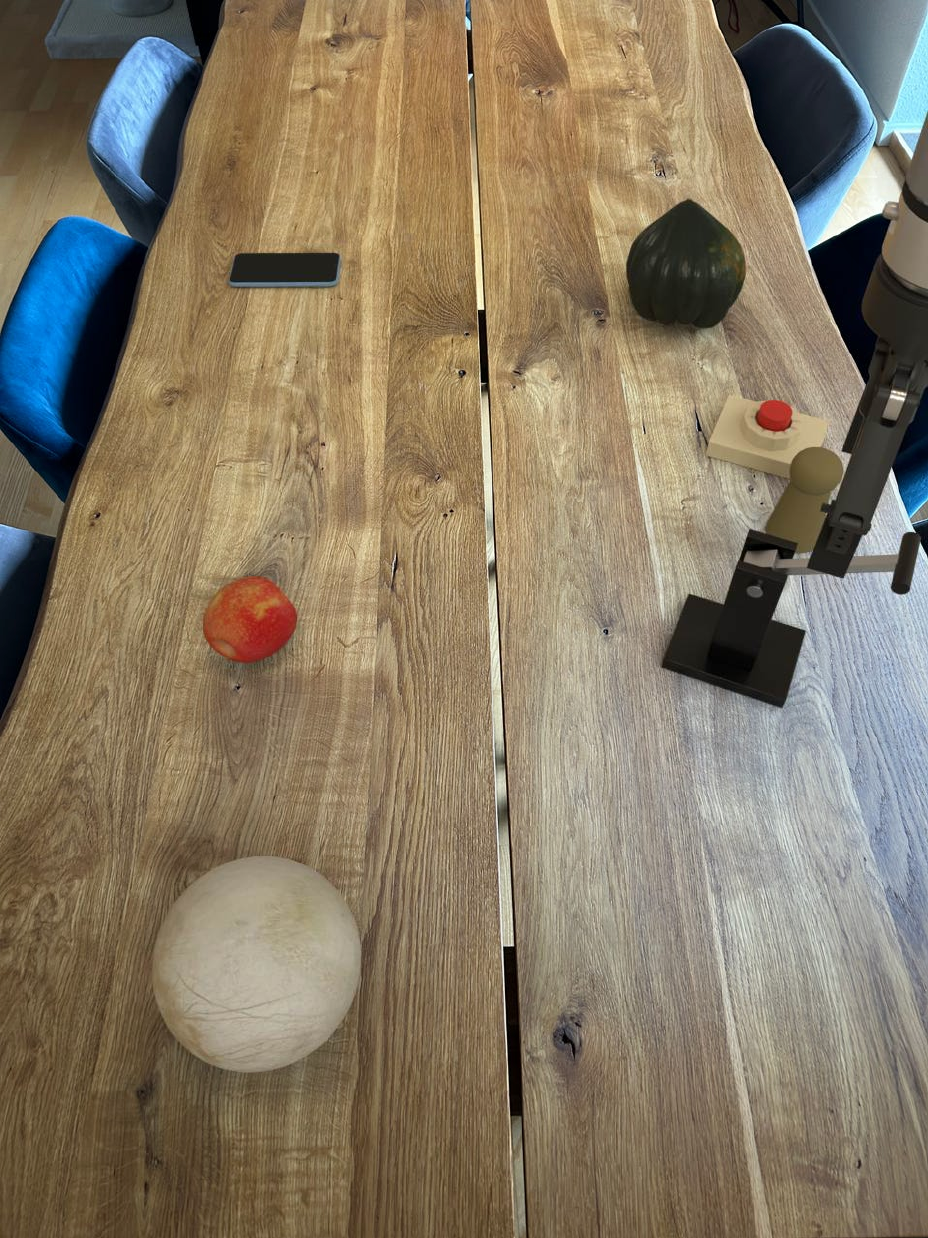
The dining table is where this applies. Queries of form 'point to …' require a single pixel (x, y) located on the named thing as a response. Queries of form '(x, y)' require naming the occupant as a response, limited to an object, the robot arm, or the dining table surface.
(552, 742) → the dining table surface
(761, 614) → the bracket
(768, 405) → the button
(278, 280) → the smartphone
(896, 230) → the robot arm
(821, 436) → the control block
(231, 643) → the apple
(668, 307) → the squash
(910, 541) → the lever
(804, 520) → the olive game pawn
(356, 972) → the decorative sphere
